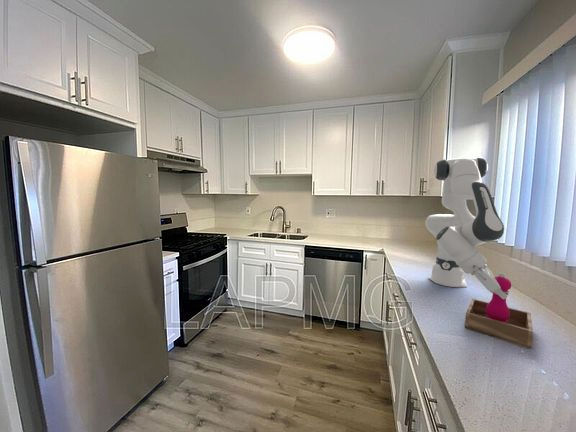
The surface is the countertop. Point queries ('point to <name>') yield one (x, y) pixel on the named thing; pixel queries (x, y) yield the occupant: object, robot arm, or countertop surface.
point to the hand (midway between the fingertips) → (502, 293)
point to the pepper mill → (499, 301)
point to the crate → (500, 324)
